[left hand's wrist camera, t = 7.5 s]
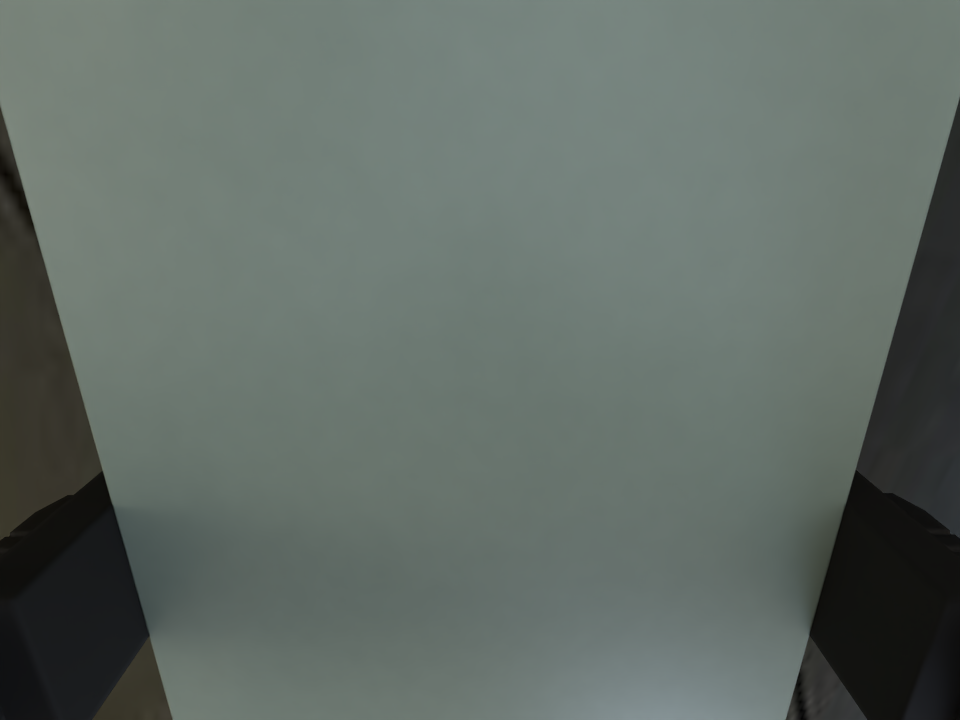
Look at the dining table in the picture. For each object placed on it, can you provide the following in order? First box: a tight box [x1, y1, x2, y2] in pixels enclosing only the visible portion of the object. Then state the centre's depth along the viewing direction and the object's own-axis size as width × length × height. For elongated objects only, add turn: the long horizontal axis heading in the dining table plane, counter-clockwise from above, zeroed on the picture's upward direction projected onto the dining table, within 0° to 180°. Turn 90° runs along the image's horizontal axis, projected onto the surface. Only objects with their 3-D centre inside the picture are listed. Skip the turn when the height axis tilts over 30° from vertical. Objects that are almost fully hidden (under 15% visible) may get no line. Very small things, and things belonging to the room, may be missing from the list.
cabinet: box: [0, 0, 960, 720], centre depth 12 cm, size 18×11×11 cm, turn 0°
